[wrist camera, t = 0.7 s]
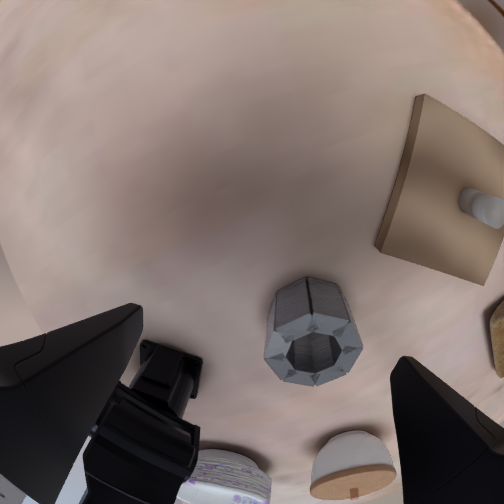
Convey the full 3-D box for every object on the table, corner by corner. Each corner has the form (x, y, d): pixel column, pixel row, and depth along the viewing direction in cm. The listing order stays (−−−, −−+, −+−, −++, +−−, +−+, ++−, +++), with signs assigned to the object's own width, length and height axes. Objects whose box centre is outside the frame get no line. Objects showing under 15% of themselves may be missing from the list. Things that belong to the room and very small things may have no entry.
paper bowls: (177, 427, 31) (161, 474, 24) (286, 450, 31) (284, 498, 23) (176, 464, 37) (165, 499, 29) (259, 482, 36) (255, 518, 29)
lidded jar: (315, 423, 28) (318, 490, 19) (397, 415, 27) (413, 475, 18) (304, 459, 32) (303, 512, 23) (372, 453, 30) (380, 503, 22)
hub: (330, 349, 23) (337, 389, 19) (261, 335, 23) (256, 375, 19) (359, 289, 21) (375, 325, 16) (282, 270, 21) (282, 305, 16)
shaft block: (475, 278, 19) (507, 308, 14) (374, 245, 20) (400, 277, 14) (513, 159, 15) (553, 168, 10) (415, 96, 15) (454, 84, 10)
